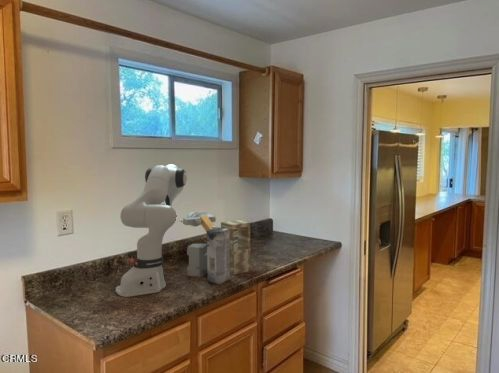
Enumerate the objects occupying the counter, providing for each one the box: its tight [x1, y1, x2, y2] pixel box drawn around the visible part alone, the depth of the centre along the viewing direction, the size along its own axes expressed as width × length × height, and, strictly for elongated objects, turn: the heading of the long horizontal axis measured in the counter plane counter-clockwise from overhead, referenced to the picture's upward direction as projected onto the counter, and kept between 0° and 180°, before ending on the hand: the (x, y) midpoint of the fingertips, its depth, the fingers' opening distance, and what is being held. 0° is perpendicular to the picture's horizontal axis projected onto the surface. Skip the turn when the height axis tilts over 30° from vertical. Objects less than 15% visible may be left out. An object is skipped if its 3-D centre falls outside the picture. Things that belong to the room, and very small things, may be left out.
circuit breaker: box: [186, 243, 207, 277], centre depth 195 cm, size 8×14×15 cm, turn 78°
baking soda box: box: [234, 228, 238, 251], centre depth 239 cm, size 10×6×16 cm
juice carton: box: [205, 225, 231, 285], centre depth 184 cm, size 9×10×27 cm
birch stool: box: [220, 219, 252, 276], centre depth 200 cm, size 12×10×26 cm
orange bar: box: [200, 216, 215, 232], centre depth 217 cm, size 4×24×4 cm, turn 36°
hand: (205, 221), depth 222 cm, fingers closed on orange bar, 4 cm apart
